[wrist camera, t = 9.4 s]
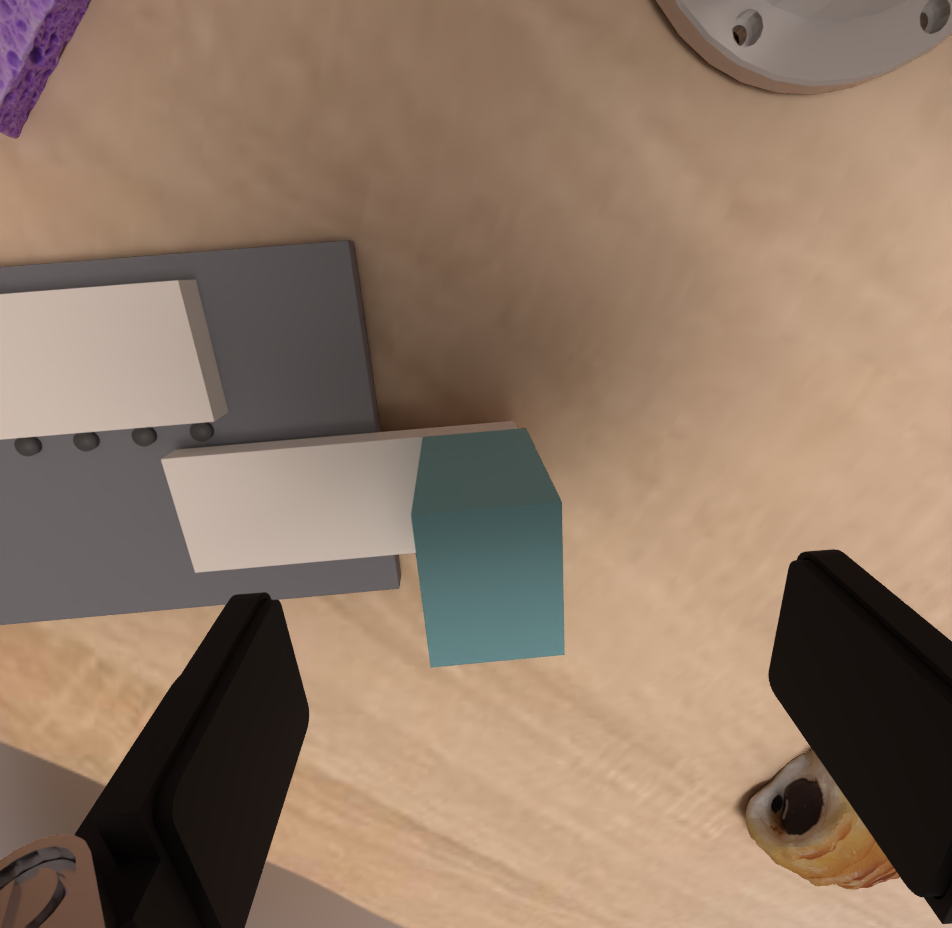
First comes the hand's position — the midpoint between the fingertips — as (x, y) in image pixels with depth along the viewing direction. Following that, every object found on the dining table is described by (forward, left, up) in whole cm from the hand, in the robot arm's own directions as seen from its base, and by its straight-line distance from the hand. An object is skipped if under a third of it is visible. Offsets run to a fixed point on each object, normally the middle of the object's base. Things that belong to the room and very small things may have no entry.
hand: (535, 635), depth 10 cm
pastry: (-16, +22, -12) cm, 30 cm away
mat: (+13, -1, -11) cm, 17 cm away
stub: (+5, +1, -10) cm, 11 cm away
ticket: (+15, -4, -10) cm, 19 cm away
